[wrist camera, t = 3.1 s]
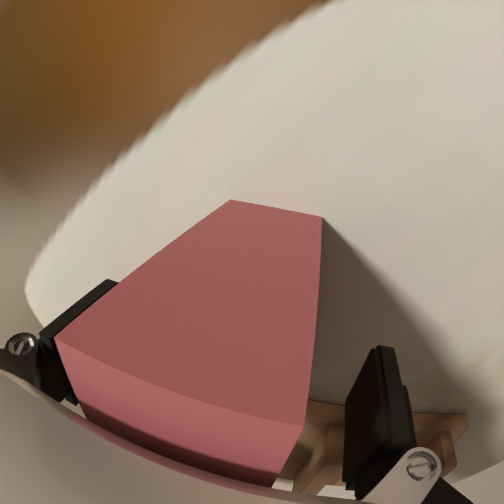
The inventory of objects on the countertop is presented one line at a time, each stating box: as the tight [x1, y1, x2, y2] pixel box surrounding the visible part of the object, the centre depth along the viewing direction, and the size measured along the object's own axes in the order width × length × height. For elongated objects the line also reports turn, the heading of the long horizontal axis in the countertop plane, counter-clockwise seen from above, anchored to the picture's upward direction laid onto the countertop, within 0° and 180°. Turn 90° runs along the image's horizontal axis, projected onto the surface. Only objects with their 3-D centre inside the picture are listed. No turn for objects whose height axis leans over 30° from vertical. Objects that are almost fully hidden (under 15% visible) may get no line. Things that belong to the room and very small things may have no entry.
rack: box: [278, 400, 469, 495], centre depth 15 cm, size 20×10×7 cm, turn 82°
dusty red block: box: [54, 200, 322, 488], centre depth 10 cm, size 4×8×10 cm, turn 172°
